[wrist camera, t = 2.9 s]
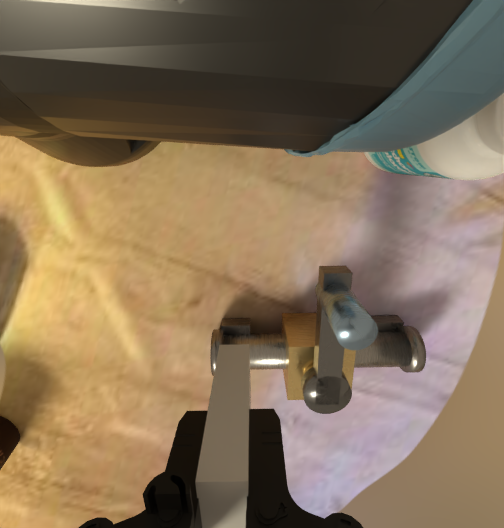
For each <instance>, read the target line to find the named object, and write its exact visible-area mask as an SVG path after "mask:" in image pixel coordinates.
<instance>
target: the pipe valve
mask: <svg viewBox="0 0 504 528" xmlns="http://www.w3.org/2000/svg"><path fill="white" fill-rule="evenodd" d="M316 314H317V313H282V334H250V318H231V319H222V325H221V329H220V330H213V333H212V340H211V371H212V375H213V376H214V373H215V367H216V362H217V356H218V350H219V345H239V344H249V349H250V370H252V369H283V373H284V379H285V386H286V393H287V399H288V400H304V396H303V392H302V387H301V380H302V377H303V375H304V374H305V372H306V371H307V370H309V369H310V368H312V367H313V363H314V347H315V330H316ZM371 317H372V319H373V320H374V321H375V323H376V324H377V327H378V334H377V337H376V339H375V341H374V342H373V343H372V344H371V345H370V346H368V347H366V348H364V349H361V350H349V349H346V348H345V349H344V359H343V368H342V371H343V372H344V374H345V376H346V378H347V380H348V383H349V385H350V387H351V389H352V380H353V372H354V368H362V367H400V368H401V369H402V370H403V371H404V372H420V371H422V370H423V368H424V366H425V362H426V350H425V345H424V342H423V339H422V337H421V335H420V333H419V332H418V331H417V329H415V328H414V327H412V326H403V325H404V322H403V321H402V320H401V319H400V318H399V317H398V316H397V315H387V316H371Z"/></svg>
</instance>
